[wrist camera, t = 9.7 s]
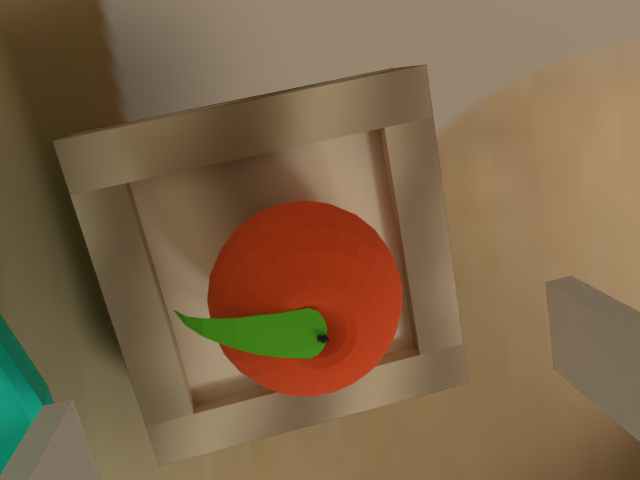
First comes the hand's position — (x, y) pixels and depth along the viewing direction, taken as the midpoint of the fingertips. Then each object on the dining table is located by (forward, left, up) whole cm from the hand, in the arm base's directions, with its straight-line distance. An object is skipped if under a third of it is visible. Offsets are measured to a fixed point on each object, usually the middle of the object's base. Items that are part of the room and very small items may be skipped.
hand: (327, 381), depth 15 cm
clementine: (0, -1, -9) cm, 9 cm away
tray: (0, 0, -13) cm, 13 cm away
